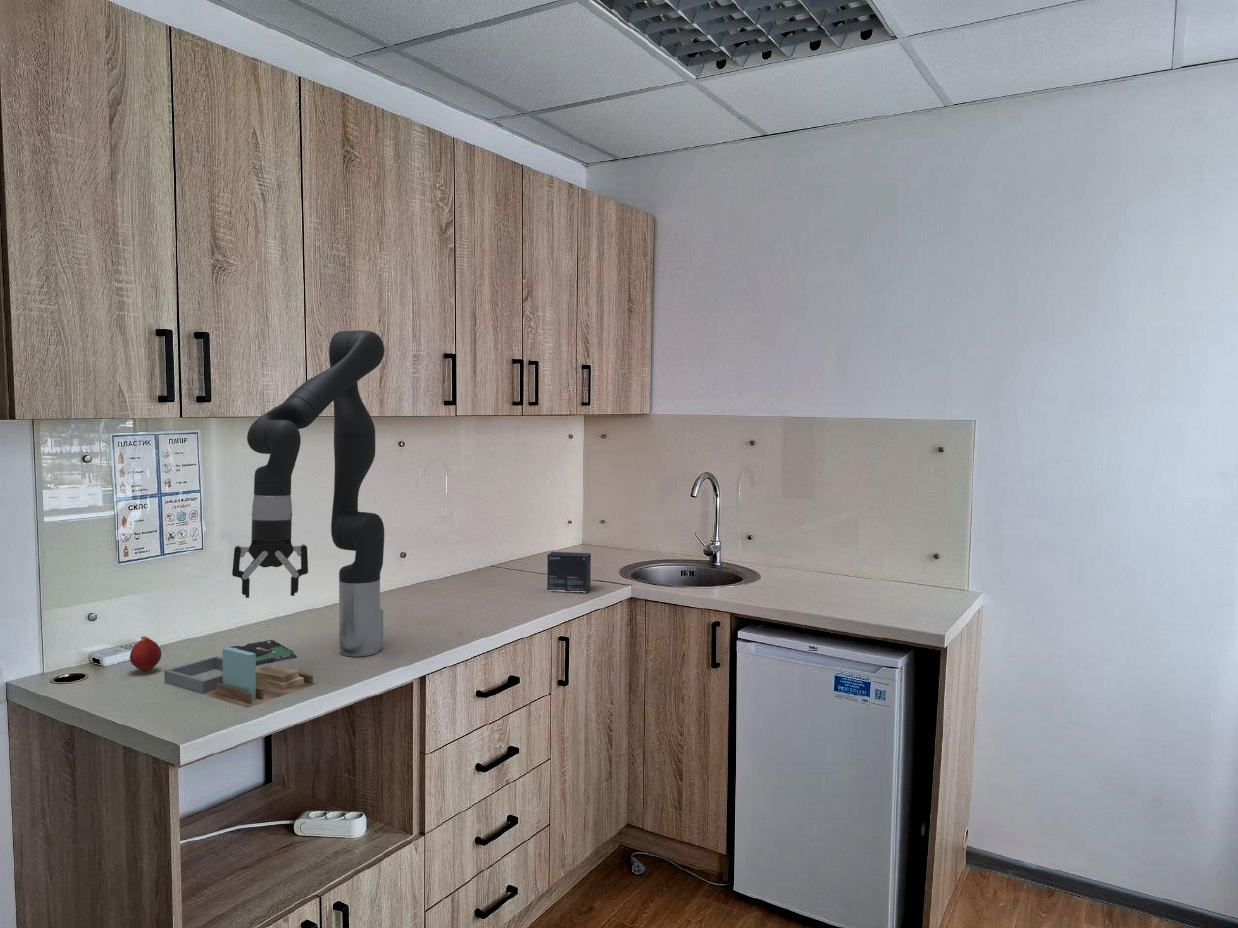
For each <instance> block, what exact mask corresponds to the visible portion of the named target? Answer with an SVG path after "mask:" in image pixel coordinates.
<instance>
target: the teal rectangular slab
mask: <svg viewBox="0 0 1238 928" xmlns="http://www.w3.org/2000/svg"><path fill="white" fill-rule="evenodd" d="M231 647H232V646H228V647H224V648H222V658H223V671H222V674H223V685H227V686H230V687H234V688H237V689H241V690H244V691H248V692H252V700H255V699H256V670H257V667H256V666H257V665H256V654H255V653H251V652H247V651H243V650H239V649H235V648H231Z"/></svg>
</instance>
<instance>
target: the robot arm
mask: <svg viewBox="0 0 1238 928" xmlns="http://www.w3.org/2000/svg"><path fill="white" fill-rule="evenodd" d="M384 345H385V343H384V341H383V339H382V338H381V337H380V336H379V334H377V333H376V332H374V331H371V330H362V329H361V330H359V329H358V330H340V331H337V332H335V333H334V335H333V336H332V337H331V338H330V342H329V347H328V353H329V354H328V355H329V368H327V369H326V370H324V371H322V372H320V373H319V374H316V375H315V376H313V377H311V378H309V379H307V380H306V381H305V382H303V383H302V384H300V385H299V386H298V387H297V388H296V389H295V390H294V391H293V392H292V393H291V394H290V395H289V396H288V397H287V398H286V399H285V400H284V401H283V402H282V403H281V404H278V405H277V406H275V407H273V408H272V409H270V410H269V411H267V412H265V413H264V414H262V415H260V417H258V418H257V419H256V420H255V421H254V422H253V423H252V424H251V425H250V427H249V429H248V431H247V437H246V441H247V444H248V446H249V447H250V449H251V450H252V451H254V452H255V453H258V454H262V455H264V454H265V455H269V458H268V461H267V464H265V465H262V466H259V467H257V468H256V470H255V471H254V479H253V480H254V481H253V500H252V506H251V507H252V508H251V537H250V538H251V539H250V540H251V541H250V542H251V543H250V545H249V546H240V545H236V546H234V550H233V558H232V559H233V561H232V571H231V574H232V576H233V577H235V578H239V579H240V580H241V594H242V596H245V598H246V599H250V587H251V586H250V582H251V581H250V579H251V578H249V577H251V575H252V574H253V573H254V572H255V571H256V570H257V568H258V567H261V568H270V567H274V568H280V567H282V566H283V567H285V569H286V570H287V571H288V572H289V573H290V575H291V577H290V596H291V597H295V595H296V594H298V592H299V578H300V577H301V576H305V575H307V574H308V573H309V561H308V557H309V556H308V547H307V545H306V544H301V545H293V544H292V523H293V522H292V521H293V501H292V475H293V472H294V468H295V466H296V463H297V462H296V461H297V458H298V455H299V452H300V449H301V438H302V437H301V433H300V430H301V429H306V428H307V427H309V426H310V425H311V424H312V423H313V422H314V421H315V420H316V419H317V418H318V417H319V416H320V415H322V413H323V411H325V409H327V408H328V407H329V406H330V405H331V404H332V403H333V453H334V454H333V455H334V480H333V481H334V482H333V483H334V484H333V500H332V511H331V519H330V520H331V523H330V525H331V526H330V532H331V533H330V535H331V538H332V542H333V544H334V545H335V547H336V548H338V549H340V550H345V551H353V552H355V554H354V555H355V557H354V561H353V562H352V563H351V564H348V565H344V566H342V567H341V568H340V569H339V571H338V597H339V598H338V599H339V600H338V603H339V604H338V605H339V607H338V610H339V611H338V612H339V616H338V617H339V618H338V619H339V620H338V621H339V622H338V623H339V624H338V625H339V627H338V629H339V640H338V641H339V654H340V655H342V656H343V657H344V656H346V657H357V658H358V657H366V656H372V655H375V654H377V653H379V652H380V651H381V650H383V649H384V609H382V608H381V572H382V568H383V564H384V550H385V549H384V547H385V525H384V521H383V520H382V519H383V518H381V516H380V515H379V514H377V513H375V512H366V511H359V493H360V489H361V485H362V484H363V481H364V480H365V478H366V476H367V474H368V473H369V471H370V468H371V467H372V464H373V462H374V460H375V457H376V427H375V424H374V421H373V419H372V417H371V415H370V412H369V411H368V408H367V407H366V406H365V404H364V402H363V399H362V397H361V395H360V392H359V385H358V383H359V381H360V380H361V379H362V378H365V376H367V375H368V374H370V373H371V372H373V371H374V370H375V369H376V368H378V366H379V365H380V364H381V363H382V361H383V359H384V356H385V346H384ZM293 552H295V553H296V555H297V556H298V557H300V568H298V569H296V568H295V566H294V565H293V564H292V562H291V561H290V560H289V558H290V556H291V555H292V554H293ZM247 553H248V554H250V556H251V557H252V558H253V560H252V561H251V562H250V563H249V565H248V566H247V567H246V568H245V569H244V571H243V570H240V564H241V558H244V557H245V555H246V554H247Z"/></svg>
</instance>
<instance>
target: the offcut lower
mask: <svg viewBox="0 0 1238 928" xmlns="http://www.w3.org/2000/svg"><path fill="white" fill-rule="evenodd" d="M256 683H257V684H260V685H264V686H267V687H271V688H275V689H278V690H282V691H284V690H287V689H290V688H293V687H296V686H299V685H301V684H304V678H303V677H297V678H295V679H292V680H290V681H287V682H284V683H279V682H274V681H269V680H264V679H259V678H256Z"/></svg>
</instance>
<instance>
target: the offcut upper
mask: <svg viewBox="0 0 1238 928" xmlns="http://www.w3.org/2000/svg"><path fill="white" fill-rule="evenodd" d="M299 672H300V670H297V669H292V668H286V667H281V666H278V667H276V666H275V665H266V666H264V667H261V668H259V669H256V678H259V679H264V680H269V681H274V682H279V683H284V682H287V681H290V680H292V679H295V678H297V677H299Z"/></svg>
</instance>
